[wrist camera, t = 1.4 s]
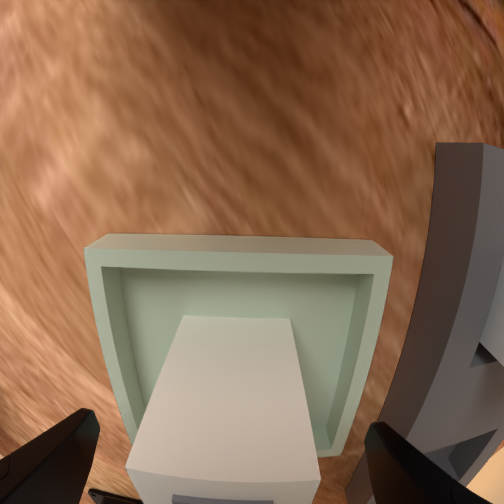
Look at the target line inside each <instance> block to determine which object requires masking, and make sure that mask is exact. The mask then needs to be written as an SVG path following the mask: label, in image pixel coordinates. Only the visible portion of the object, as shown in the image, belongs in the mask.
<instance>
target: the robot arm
mask: <svg viewBox="0 0 504 504" xmlns="http://www.w3.org/2000/svg"><path fill="white" fill-rule="evenodd" d="M99 433H100V426H99V423H98V421H97V418H96V416H95V413H94V411H93V410H90V409H86V408H81V409H79V410H77V411H76V412H74V413H73V414H71V415H70V416H68V417H67V418H65V419H64V420H62V421H61V422H59V423H58V424H56V425H55V426H53V427H51V428H50V429H48V430H47V431H45V432H44V433H42V434H41V435H39V436H38V437H36V438H34V439H33V440H31V441H30V442H28V443H27V444H25V445H23V446H22V447H20V448H19V449H17V450H15V451H14V452H12V453H11V454H10V455H7V456H6V457H4V458H3V459H1V460H0V504H79V502H80V499H81V496H82V493H83V490H84V487H85V484H86V481H87V479H88V476H89V473H90V470H91V467H92V463H93V458H94V454H95V450H96V445H97V441H98V437H99ZM364 443H365V450H366V457H367V464H368V471H369V478H370V483H371V487H372V491H373V495H374V498H375V502H376V504H492V503H490V502H489V501H487V500H485V499H483V498H482V497H480V496H478V495H477V494H475V493H473V492H472V491H470V490H469V489H467V488H466V487H465V486H463V485H462V484H461V483H459V482H458V481H457V480H455V479H454V478H452V476H450V475H449V474H448V473H446V472H445V471H444V470H443V469H441V468H440V467H439V466H438V465H436V464H435V463H434V462H433V461H431V460H430V459H429V458H428V457H426V456H425V455H424V454H423V453H422V452H420V451H419V450H418V449H417V448H415V447H414V446H413V445H412V444H411V443H409V442H408V441H407V440H406V439H405V438H403V437H402V436H401V435H400V434H399V433H397V432H396V431H395V430H394V429H393V428H391V427H390V426H389V425H388V424H387V423H385V422H384V421H379V422H373V423H371V425H370V427H369V429H368V432H367V434H366V437H365V441H364ZM88 494H89V495H90V497H91V498H92V499H93V501H94V502H95V503H96V504H144V503H143V502H142V501H137V500H133V499H128V498H124V497H120V496H116V495H112V494H109V493H105V492H101V491H98V490H95V489H89V491H88Z"/></svg>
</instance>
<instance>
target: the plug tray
mask: <svg viewBox="0 0 504 504" xmlns="http://www.w3.org/2000/svg"><path fill="white" fill-rule="evenodd" d="M84 256H85V263H86V270H87V277H88V283H89V289H90V295H91V301H92V306H93V311H94V316H95V321H96V326H97V330H98V335H99V339H100V343H101V348H102V352H103V356H104V360H105V363H106V367H107V371H108V374H109V378H110V381H111V385H112V388H113V392H114V395H115V398H116V401H117V404H118V408H119V411H120V414H121V417H122V419H123V422H124V425H125V428H126V431H127V434H128V436H129V439H130V442H131V444H132V446H133V443H134V441H135V438H136V435H137V432H138V430H139V427H140V424H141V422H142V419H143V416H144V414H145V411H146V408H147V406H148V403H149V400H150V398H151V395H152V393H153V390H154V387H155V385H156V382H157V380H158V377H159V375H160V372H161V369H162V367H163V364H164V362H165V359H166V357H167V354H168V352H169V349H170V347H171V344H172V342H173V340H174V337H175V335H176V332H177V330H178V327H179V325H180V322H181V320H182V318H183V315H189V316H209V317H234V318H280V319H290V322H291V326H292V331H293V336H294V341H295V346H296V351H297V355H298V360H299V365H300V370H301V375H302V380H303V385H304V390H305V396H306V401H307V406H308V411H309V416H310V422H311V427H312V432H313V438H314V443H315V448H316V454H317V458H318V457H330V456H340V455H341V453H342V451H343V448H344V445H345V443H346V440H347V437H348V435H349V432H350V429H351V426H352V423H353V420H354V417H355V414H356V411H357V408H358V405H359V402H360V399H361V396H362V392H363V389H364V386H365V382H366V379H367V375H368V372H369V368H370V365H371V361H372V357H373V353H374V349H375V346H376V341H377V337H378V333H379V329H380V325H381V320H382V316H383V311H384V306H385V301H386V296H387V291H388V286H389V280H390V275H391V269H392V263H393V256H392V255H391V254H390V253H389V252H387V251H386V250H385V249H383V248H382V247H381V246H380V245H378V244H377V243H376V242H374V241H373V240H361V239H335V238H305V237H272V236H233V235H185V234H106V235H105V236H103V237H101V238H100V239H98V240H96V241H95V242H93V243H91V244H90V245H88V246H87V247H85V248H84Z"/></svg>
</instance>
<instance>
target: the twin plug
mask: <svg viewBox="0 0 504 504" xmlns="http://www.w3.org/2000/svg"><path fill="white" fill-rule="evenodd" d="M479 342H480V343H481V344H482V345H483V346H484V347H485V348H486V349H487V350H488V351H489V352H490V353H491V354H492V355H493V356H494V357H495V358H496V359H497V360H498V361H499V362H500V363H501V364H502V365H503V366H504V258H503V263H502V267H501V272H500V276H499V280H498V284H497V287H496V291H495V295H494V298H493V302H492V305H491V308H490V312H489V315H488V318H487V321H486V324H485V327H484V330H483V333H482V335H481V338H480V341H479Z"/></svg>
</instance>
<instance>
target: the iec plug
mask: <svg viewBox="0 0 504 504" xmlns="http://www.w3.org/2000/svg"><path fill="white" fill-rule="evenodd" d="M125 469H126V471H127V473H128V475H129V477H130V479H131V481H132V483H133V485H134V487H135V489H136V490H137V492H138V494H139V496H140V498H141V500H142V501H143V503H144V504H311V503H312V501H313V499H314V496H315V494H316V491H317V489H318V486H319V484H320V481H321V476H320V470H319V465H318V459H317V454H316V448H315V443H314V438H313V432H312V427H311V422H310V416H309V411H308V406H307V401H306V396H305V390H304V385H303V380H302V375H301V370H300V365H299V360H298V355H297V351H296V346H295V341H294V336H293V331H292V326H291V322H290V319H280V318H234V317H209V316H189V315H183V318H182V320H181V322H180V325H179V327H178V330H177V332H176V335H175V337H174V340H173V342H172V344H171V347H170V349H169V352H168V354H167V357H166V359H165V362H164V364H163V367H162V369H161V372H160V375H159V377H158V380H157V382H156V385H155V387H154V390H153V393H152V395H151V398H150V400H149V403H148V406H147V408H146V411H145V414H144V416H143V419H142V422H141V424H140V427H139V430H138V432H137V435H136V438H135V441H134V443H133V446H132V449H131V452H130V454H129V457H128V460H127V463H126V466H125Z"/></svg>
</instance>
